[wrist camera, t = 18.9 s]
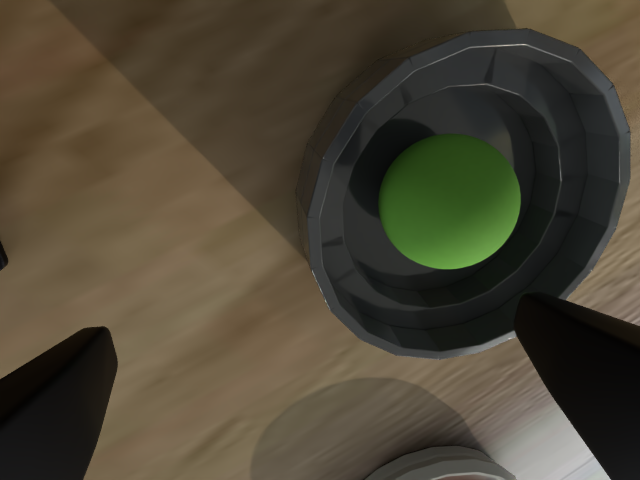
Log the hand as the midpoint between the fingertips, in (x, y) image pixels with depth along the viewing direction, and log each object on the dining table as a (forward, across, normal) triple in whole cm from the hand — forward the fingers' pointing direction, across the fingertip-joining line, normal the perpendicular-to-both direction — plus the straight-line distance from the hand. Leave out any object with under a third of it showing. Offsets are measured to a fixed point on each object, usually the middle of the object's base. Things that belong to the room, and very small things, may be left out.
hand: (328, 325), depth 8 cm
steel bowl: (+13, -8, +2) cm, 16 cm away
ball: (+10, -7, +1) cm, 12 cm away
